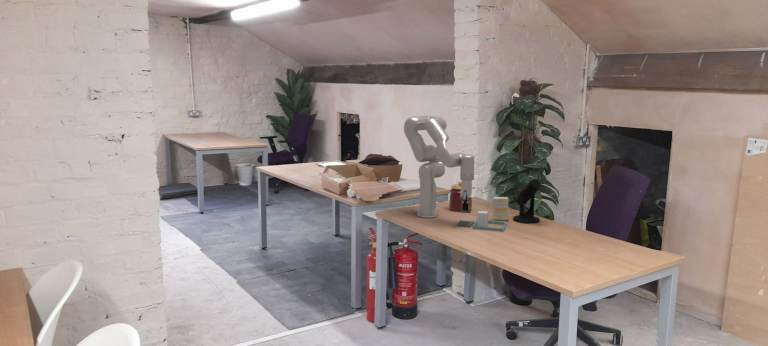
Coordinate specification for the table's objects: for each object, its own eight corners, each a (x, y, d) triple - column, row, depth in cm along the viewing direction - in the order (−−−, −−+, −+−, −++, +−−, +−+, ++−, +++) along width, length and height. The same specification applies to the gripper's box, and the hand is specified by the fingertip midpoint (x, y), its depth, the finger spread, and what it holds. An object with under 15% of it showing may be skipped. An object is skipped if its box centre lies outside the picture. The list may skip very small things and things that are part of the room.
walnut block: (461, 212, 308) (461, 198, 306) (462, 210, 312) (463, 196, 311) (470, 213, 306) (470, 199, 305) (471, 211, 311) (472, 197, 310)
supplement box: (506, 218, 324) (507, 196, 322) (507, 220, 319) (508, 198, 317) (492, 218, 325) (493, 196, 323) (493, 220, 320) (494, 198, 318)
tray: (472, 228, 302) (472, 225, 302) (476, 222, 316) (476, 219, 316) (503, 231, 297) (503, 228, 297) (506, 224, 311) (506, 222, 310)
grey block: (477, 226, 306) (477, 212, 305) (478, 224, 311) (479, 210, 310) (486, 227, 305) (486, 213, 303) (487, 225, 309) (488, 211, 308)
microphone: (525, 225, 310) (528, 181, 305) (506, 218, 325) (508, 176, 321) (546, 222, 316) (549, 179, 311) (527, 215, 331) (529, 174, 327)
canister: (472, 208, 349) (473, 180, 346) (466, 212, 337) (467, 184, 334) (452, 206, 354) (453, 179, 351) (446, 210, 343) (447, 182, 340)
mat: (456, 225, 307) (456, 224, 307) (460, 221, 317) (460, 220, 317) (470, 227, 305) (470, 225, 305) (474, 222, 314) (474, 221, 314)
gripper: (463, 174, 315) (462, 205, 318) (457, 179, 299) (456, 212, 302) (476, 174, 313) (475, 206, 316) (471, 180, 297) (470, 213, 300)
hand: (466, 208), depth 309 cm, fingers closed on walnut block, 5 cm apart
